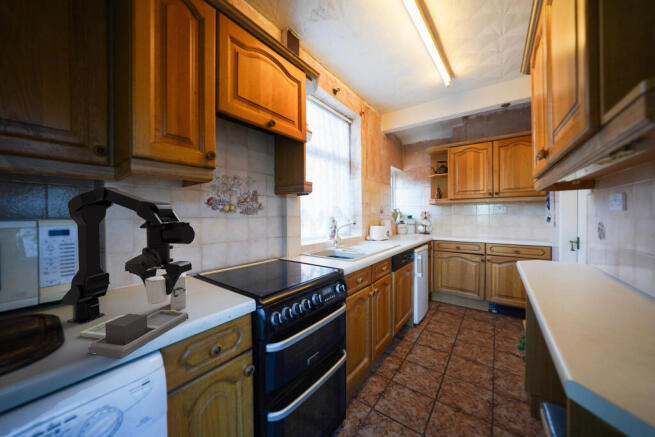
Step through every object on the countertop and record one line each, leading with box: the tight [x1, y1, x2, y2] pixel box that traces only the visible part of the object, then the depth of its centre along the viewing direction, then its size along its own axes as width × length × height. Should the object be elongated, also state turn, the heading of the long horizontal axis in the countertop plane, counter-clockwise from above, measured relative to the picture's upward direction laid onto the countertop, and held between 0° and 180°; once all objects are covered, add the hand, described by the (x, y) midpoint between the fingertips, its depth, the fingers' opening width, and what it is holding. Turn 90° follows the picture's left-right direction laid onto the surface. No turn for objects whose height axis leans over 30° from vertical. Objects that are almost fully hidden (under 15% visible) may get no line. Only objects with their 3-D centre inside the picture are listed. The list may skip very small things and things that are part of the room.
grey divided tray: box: [87, 309, 189, 359], centre depth 68 cm, size 10×21×6 cm, turn 169°
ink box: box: [170, 272, 187, 311], centre depth 87 cm, size 9×5×12 cm, turn 31°
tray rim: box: [79, 314, 125, 339], centre depth 71 cm, size 11×11×1 cm
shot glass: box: [144, 274, 171, 305], centre depth 72 cm, size 7×7×7 cm
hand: (159, 293), depth 72 cm, fingers closed on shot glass, 6 cm apart
